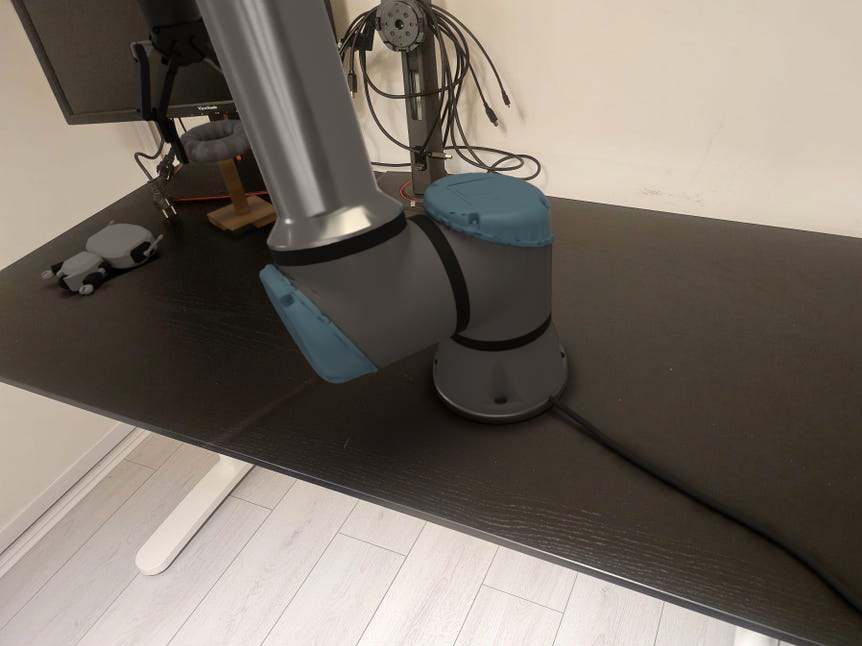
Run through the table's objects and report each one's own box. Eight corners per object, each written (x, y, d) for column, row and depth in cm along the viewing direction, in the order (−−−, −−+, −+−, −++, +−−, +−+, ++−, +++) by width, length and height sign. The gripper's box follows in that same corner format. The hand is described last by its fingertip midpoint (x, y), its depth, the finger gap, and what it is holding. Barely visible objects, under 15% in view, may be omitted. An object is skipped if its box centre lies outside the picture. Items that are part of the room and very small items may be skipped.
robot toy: (96, 311, 88) (177, 253, 97) (78, 286, 85) (163, 229, 93) (47, 291, 93) (128, 238, 102) (28, 267, 90) (113, 214, 98)
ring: (272, 146, 96) (266, 127, 94) (203, 172, 90) (195, 152, 88) (237, 130, 102) (230, 111, 100) (170, 153, 97) (162, 134, 95)
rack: (282, 217, 104) (264, 157, 97) (235, 238, 99) (211, 177, 93) (256, 202, 109) (236, 144, 102) (209, 222, 105) (186, 163, 98)
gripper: (231, -30, 90) (274, 119, 104) (60, 6, 78) (136, 168, 92) (256, -26, 86) (298, 129, 100) (80, 12, 74) (156, 182, 88)
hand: (220, 148), depth 96 cm, fingers closed on ring, 12 cm apart
